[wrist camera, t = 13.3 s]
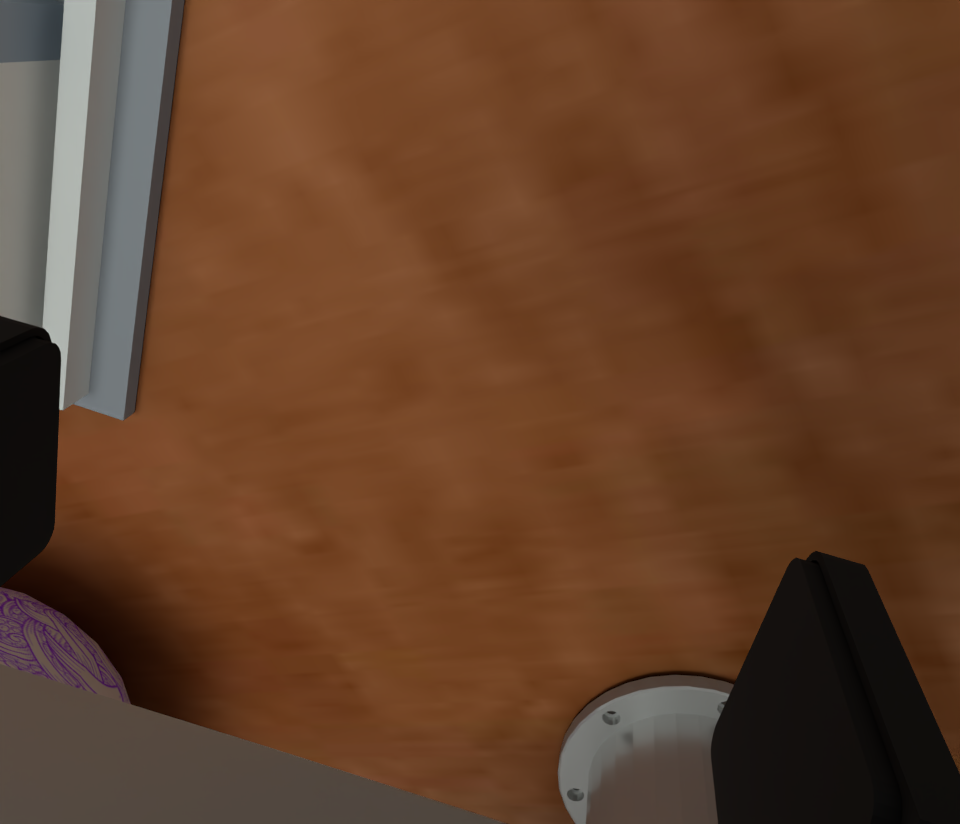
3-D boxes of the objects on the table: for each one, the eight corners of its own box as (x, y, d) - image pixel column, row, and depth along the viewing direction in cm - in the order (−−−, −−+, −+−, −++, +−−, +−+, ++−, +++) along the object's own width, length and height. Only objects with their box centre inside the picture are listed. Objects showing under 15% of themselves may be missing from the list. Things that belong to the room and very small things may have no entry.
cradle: (134, 412, 42) (99, 438, 39) (-102, 333, 42) (-153, 354, 39) (190, -47, 33) (151, -54, 30) (-106, -140, 33) (-171, -155, 31)
